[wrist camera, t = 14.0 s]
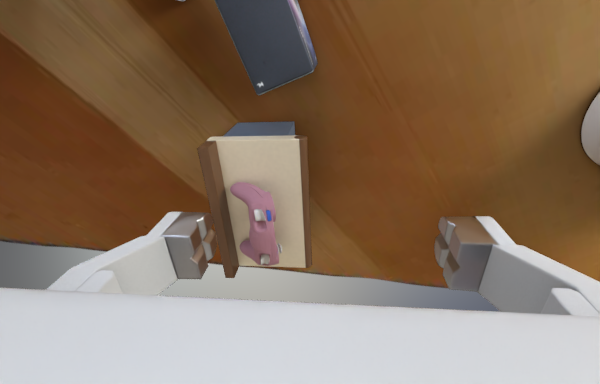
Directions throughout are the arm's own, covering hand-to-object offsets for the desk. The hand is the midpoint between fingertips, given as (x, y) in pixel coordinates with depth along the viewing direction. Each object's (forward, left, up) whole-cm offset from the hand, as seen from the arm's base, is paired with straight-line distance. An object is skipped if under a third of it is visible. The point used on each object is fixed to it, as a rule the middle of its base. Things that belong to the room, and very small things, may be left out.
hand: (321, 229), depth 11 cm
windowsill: (+8, +12, -31) cm, 35 cm away
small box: (+6, -7, -31) cm, 33 cm away
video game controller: (+8, +13, -22) cm, 27 cm away
